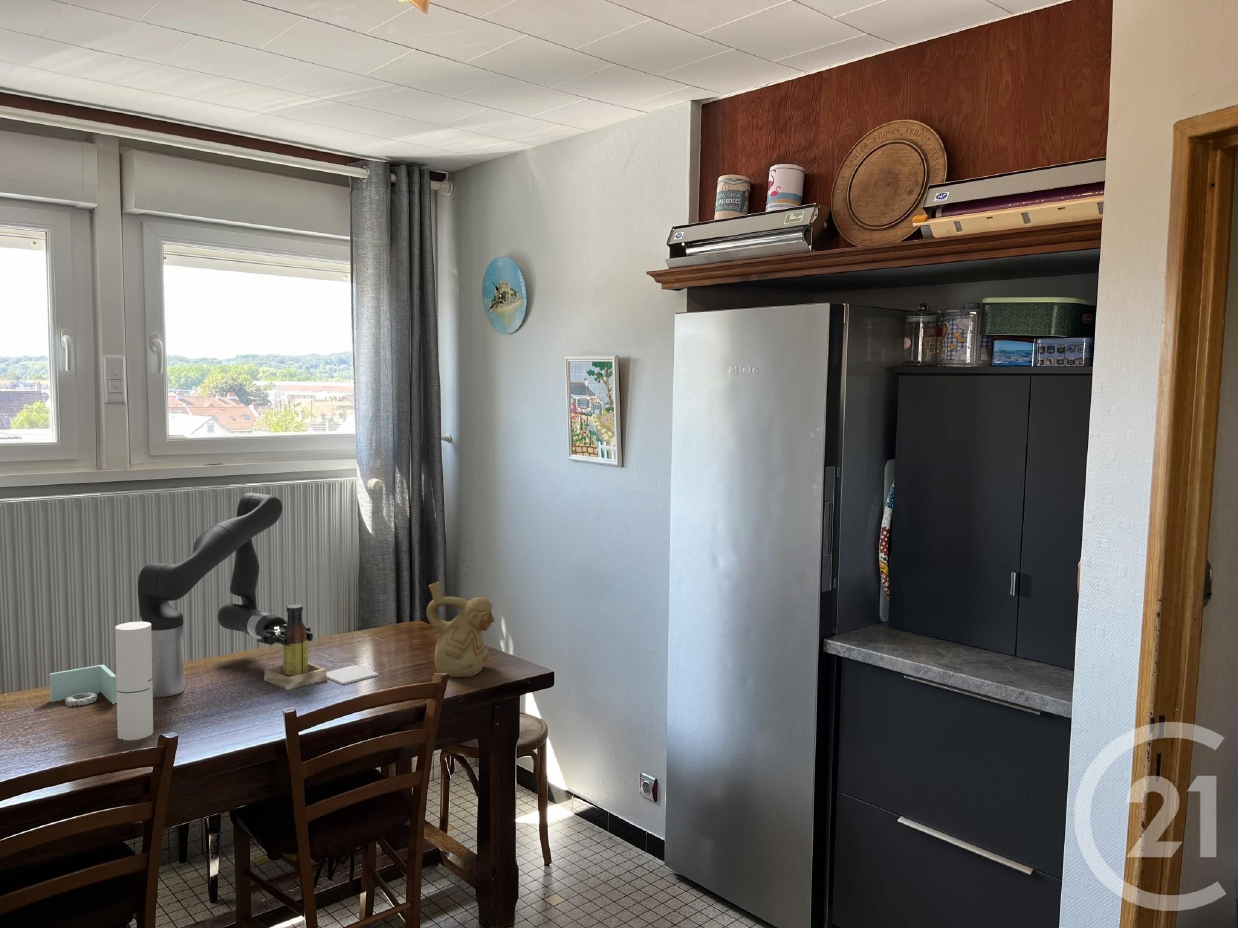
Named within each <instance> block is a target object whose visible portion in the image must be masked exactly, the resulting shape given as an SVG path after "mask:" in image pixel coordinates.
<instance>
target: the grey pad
mask: <svg viewBox="0 0 1238 928" xmlns="http://www.w3.org/2000/svg"><path fill="white" fill-rule="evenodd" d="M378 676H379V673H378V672H375V671H372V670H370V669H367V668H364V667H361V666H358V665H356V664H354V665H350V666H347V667H346V666H345V667H342V668H338V669H334V670H329V671H326V680H329V679H330V681H332V682H335V683H337V682H338V683H337V684H340V685H342V684H345V685H349V684H352V683H356V682H359V681H363V680H362V679H364V680H367V679H370V678H374V677H378ZM355 681H356V682H355ZM351 682H352V683H351Z"/></svg>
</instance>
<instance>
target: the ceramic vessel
mask: <svg viewBox="0 0 1238 928" xmlns="http://www.w3.org/2000/svg"><path fill="white" fill-rule="evenodd" d="M440 584H441V583H440V582H439V581H437V582H433V583H432V582H431V583H430V584H428V587H429V590H430V592H431V596H432V600H431V601H430V602H429V603H428V605H427V607H426V611H425V613H426V618H427V620H428V622H429V623H430V625H431V626H432V627H434V629H437V630H439V631H441V633H440V634H439V636H438V638H437V641H436V645H435V649H434V664H435V669H436V671H437V673H438V674H440V673H447V674H448V675H449V676H448V677H451V678H453V677H454V678H466V677H475V676H476V675H478V674H479V673H480V672H481V671H482V670H483V667H484V666H485V665H486V664H487V663H488V661H489V659H490V652H489V649H488V648H487V647H486V646H485V645H484V638H483V632H487V631H488V629H489V628H490V627H491V626H492V623H494V622H495V618H494V616H493V613H492V609H493V604H492V603H491V602H490V601H489V600H488V599H486V598H485V597H482V596H481V597H480V596H477V597H472V598H471V599H469V600H467V599H465V598H461V597H457V596H443V594H442V590H441V585H440ZM442 606H455V607H458V608H459V609H461V611H460V613H459V614H458V615H456V616H455V618H453V619H452V620H450V621H449V620H448V621H446V620H443V619H441V618H440V617H438V615H437V609H438V608H439V607H442Z"/></svg>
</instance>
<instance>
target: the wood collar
mask: <svg viewBox="0 0 1238 928" xmlns="http://www.w3.org/2000/svg"><path fill="white" fill-rule="evenodd" d="M263 670H264V681H266V682H268V683H271V684H272V685H274V686H276V687H279V688H281V689H284V690H287V691H288V690H293V689H297V688H301V687H304V685H305V686H308V685H309V686H310V685H312V684H316V683H315V682H317V683H319V682H320V683H321V682H324V681H327V678H326V672H327V668H325V667H322V666H319V665H316V664H314V663H312V662H309V661H308V671H307V673H303V674H299V675H295V676H291V677H288V676H285V675H284V673H283V664H281V665H277V666H273V667H269V668H265V669H263Z"/></svg>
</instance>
